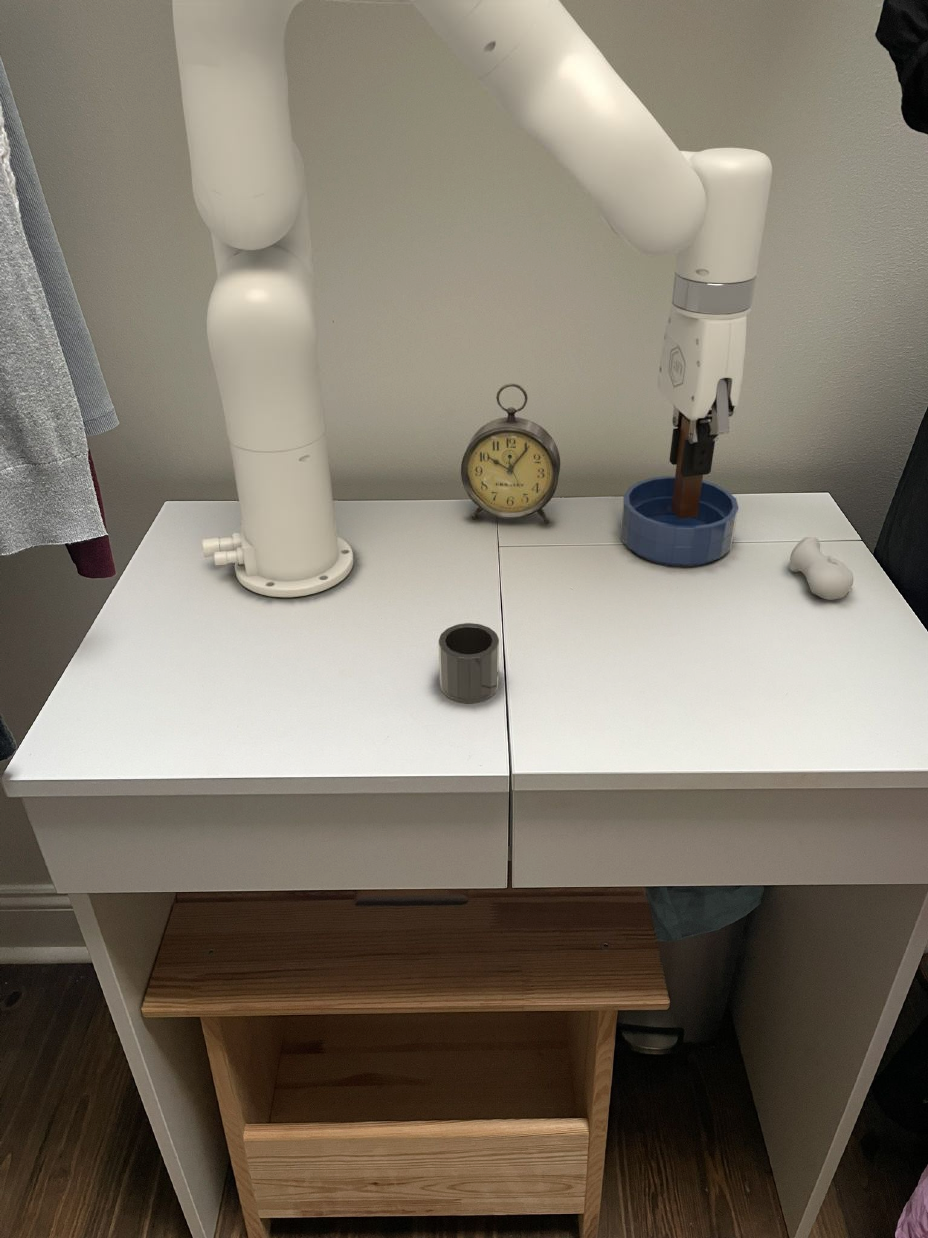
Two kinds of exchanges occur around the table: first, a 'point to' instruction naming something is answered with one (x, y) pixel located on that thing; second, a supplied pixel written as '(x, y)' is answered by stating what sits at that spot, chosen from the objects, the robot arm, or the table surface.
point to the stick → (686, 481)
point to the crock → (469, 662)
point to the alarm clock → (511, 466)
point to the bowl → (677, 523)
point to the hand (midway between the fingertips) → (689, 467)
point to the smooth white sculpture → (821, 570)
